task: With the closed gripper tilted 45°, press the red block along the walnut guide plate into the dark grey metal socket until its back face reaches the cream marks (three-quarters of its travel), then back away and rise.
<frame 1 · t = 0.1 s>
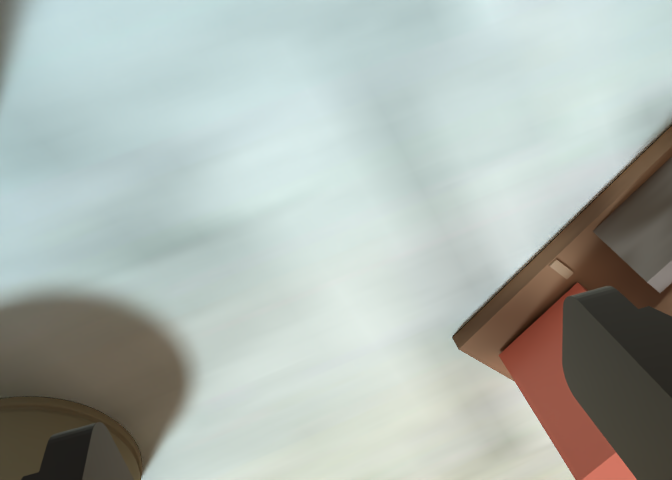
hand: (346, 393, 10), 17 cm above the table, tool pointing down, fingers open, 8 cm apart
can: (33, 467, 34), on the table
red block: (611, 395, 32), point 5 cm above the table, slide at 0.0 cm
brown piece: (624, 269, 35), on the table
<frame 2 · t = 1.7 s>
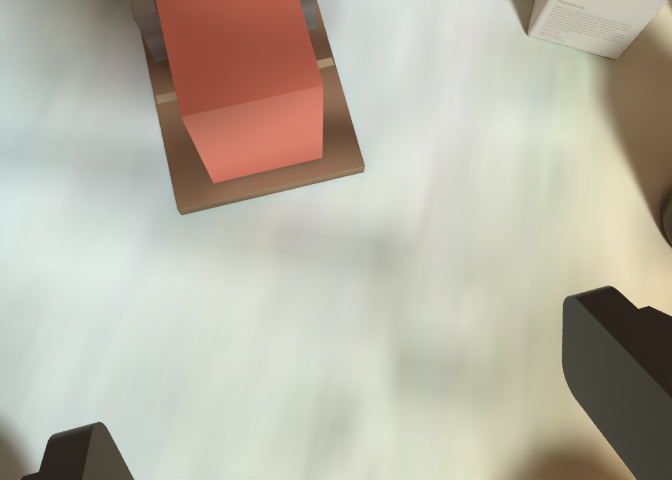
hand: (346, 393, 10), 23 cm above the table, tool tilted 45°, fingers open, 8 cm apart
red block: (248, 88, 32), point 5 cm above the table, slide at 0.0 cm
brown piece: (240, 60, 38), on the table
product box: (578, 12, 40), on the table
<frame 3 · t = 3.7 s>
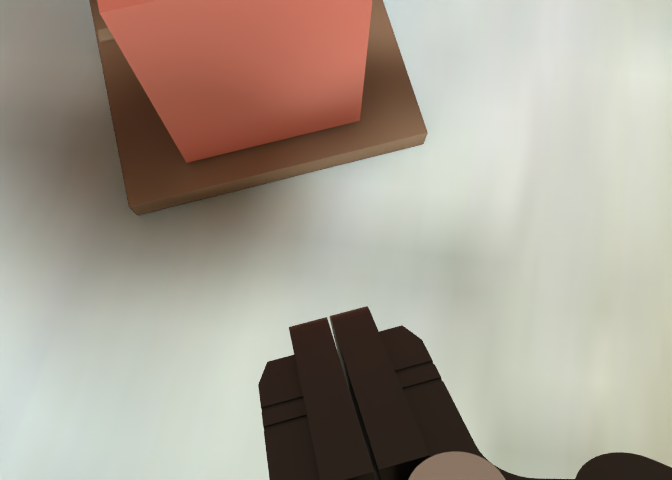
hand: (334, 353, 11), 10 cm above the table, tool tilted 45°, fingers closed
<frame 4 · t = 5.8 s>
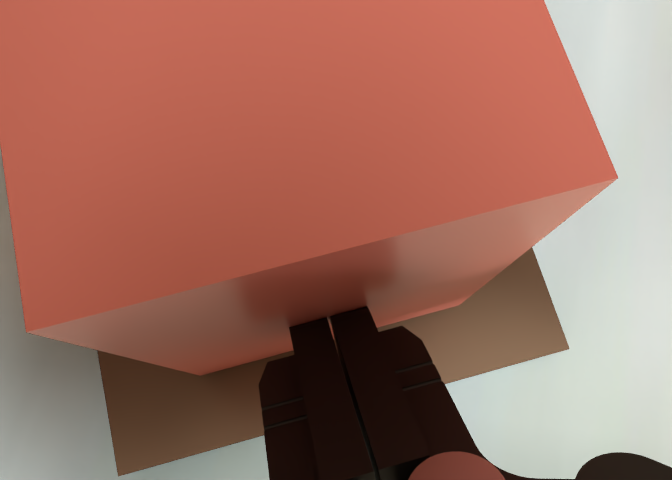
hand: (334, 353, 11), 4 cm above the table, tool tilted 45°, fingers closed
red block: (290, 156, 11), point 5 cm above the table, slide at 0.7 cm, touching gripper
brown piece: (265, 97, 18), on the table
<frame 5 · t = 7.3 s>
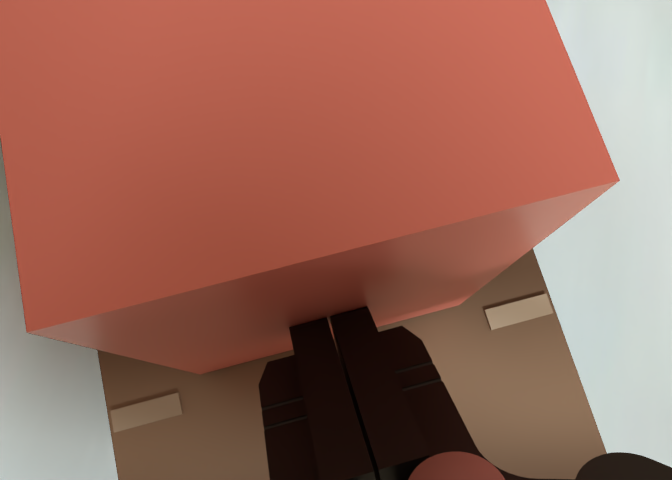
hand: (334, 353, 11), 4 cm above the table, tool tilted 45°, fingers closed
red block: (290, 156, 11), point 5 cm above the table, slide at 6.5 cm, touching gripper
brown piece: (317, 289, 16), on the table
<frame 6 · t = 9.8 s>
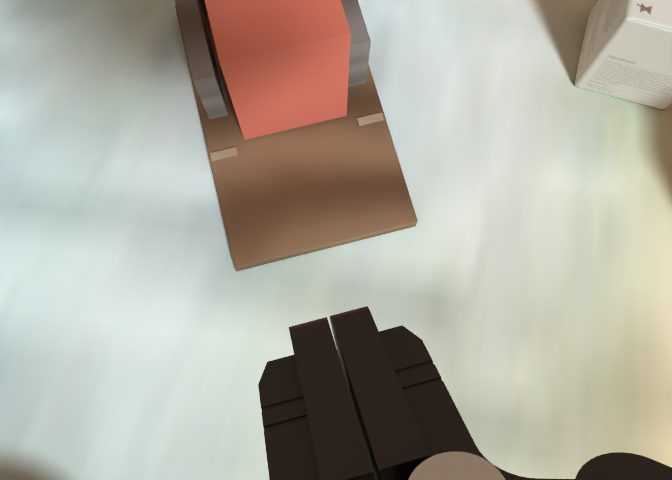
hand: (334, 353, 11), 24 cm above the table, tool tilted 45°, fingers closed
red block: (278, 45, 34), point 5 cm above the table, slide at 6.5 cm
brown piece: (291, 115, 39), on the table
product box: (624, 62, 40), on the table
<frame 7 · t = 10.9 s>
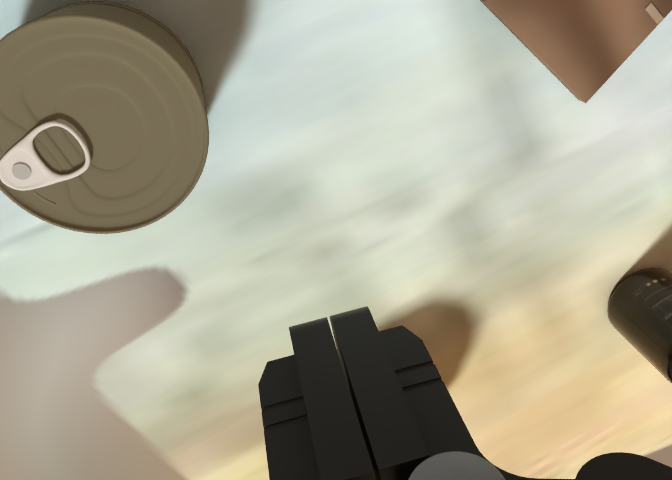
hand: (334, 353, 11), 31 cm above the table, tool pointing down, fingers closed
can: (110, 98, 38), on the table
supplement bottle: (638, 296, 55), on the table
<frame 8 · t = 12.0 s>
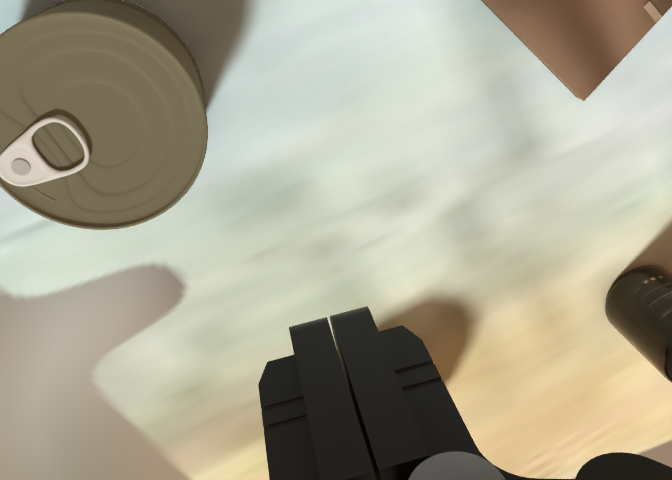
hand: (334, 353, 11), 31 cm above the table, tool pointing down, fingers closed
can: (109, 94, 38), on the table
supplement bottle: (635, 293, 55), on the table
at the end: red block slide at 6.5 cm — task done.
